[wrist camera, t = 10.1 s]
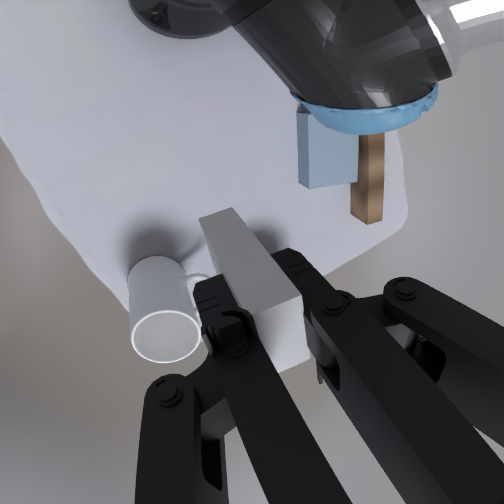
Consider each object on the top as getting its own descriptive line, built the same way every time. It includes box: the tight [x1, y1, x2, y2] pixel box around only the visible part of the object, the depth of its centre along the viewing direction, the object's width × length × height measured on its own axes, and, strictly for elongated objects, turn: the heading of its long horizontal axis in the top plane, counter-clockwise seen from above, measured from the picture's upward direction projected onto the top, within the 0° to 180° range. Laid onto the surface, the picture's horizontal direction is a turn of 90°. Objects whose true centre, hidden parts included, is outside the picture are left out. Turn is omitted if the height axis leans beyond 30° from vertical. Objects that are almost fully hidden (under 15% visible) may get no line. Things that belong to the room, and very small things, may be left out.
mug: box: [127, 256, 210, 363], centre depth 39 cm, size 12×8×12 cm
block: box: [296, 112, 359, 189], centre depth 42 cm, size 10×8×4 cm
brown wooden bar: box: [351, 132, 384, 225], centre depth 42 cm, size 24×3×4 cm, turn 7°
